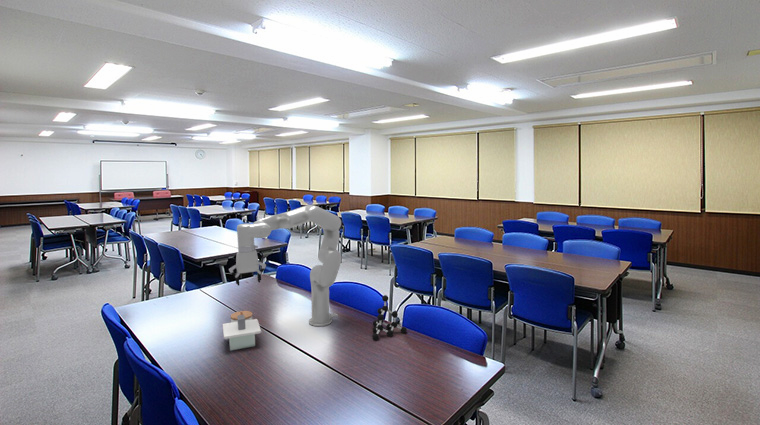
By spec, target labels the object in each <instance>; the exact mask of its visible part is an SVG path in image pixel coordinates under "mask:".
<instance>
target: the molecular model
mask: <svg viewBox="0 0 760 425" xmlns="http://www.w3.org/2000/svg"><path fill="white" fill-rule="evenodd" d="M381 299H382V301H383V306H382V307H379V308H377V310H376V311H377V312H376V313H377V314H378V315H377V317H376V318H377V319H375V320H373V321H372V326H373V327H372V332H373V334H372V336H371V337H372V340H374V341H378V340H379V337H380V336H379V333H380V332H382V331H383V332H385V333H386V335H387V337H389V336H391V337H392V336H393V335H394V332H393V330H394V329H396V328H397V329H398V330H400V332H401V333H402V334H406V333H407V331H408V328H407V327H406V326H402V327H401V326H399V324H398V322H397V321H396V318H397V317H398V312H397V311H395V310H393V311H392V310H390V309H389V307H388V305H387V302H388V301H389V297H388V295H387V294H385V295H382V298H381ZM387 312H388V313H390V314H391V315H390V316H391V317H392V318H393V320H392V322H391V323H386V322H384V319H385V317H384V314H385V313H387ZM384 326H386V328H384ZM390 329H391V330H390Z"/></svg>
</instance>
